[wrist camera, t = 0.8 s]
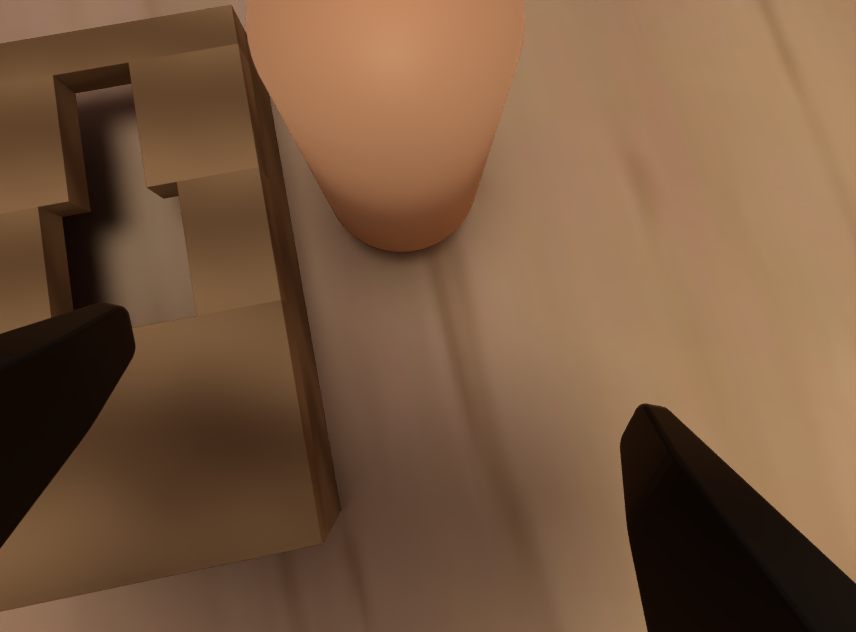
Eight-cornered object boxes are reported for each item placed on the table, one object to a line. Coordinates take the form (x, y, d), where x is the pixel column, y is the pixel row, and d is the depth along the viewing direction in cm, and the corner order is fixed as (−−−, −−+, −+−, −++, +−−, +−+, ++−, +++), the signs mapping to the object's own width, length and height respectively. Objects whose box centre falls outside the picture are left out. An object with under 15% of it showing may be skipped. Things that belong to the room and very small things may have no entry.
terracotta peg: (421, 291, 22) (424, 205, 10) (309, 217, 22) (189, 50, 10) (495, 182, 22) (577, -16, 11) (386, 111, 23) (351, -157, 11)
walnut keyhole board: (340, 510, 21) (322, 544, 17) (76, 565, 20) (-8, 613, 16) (264, 68, 23) (231, 4, 19) (22, 110, 22) (-64, 54, 18)
